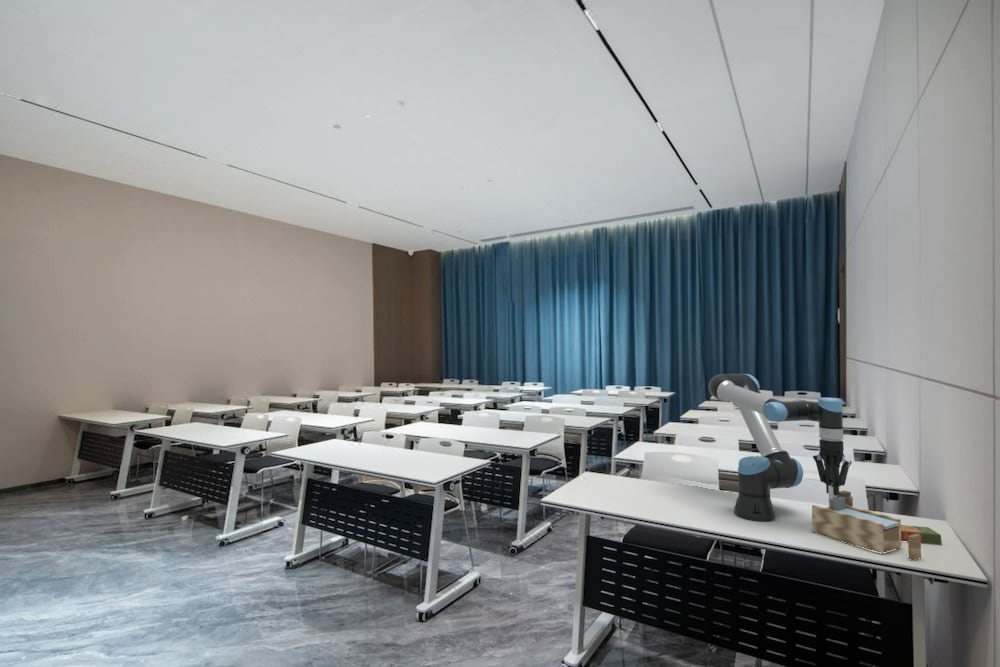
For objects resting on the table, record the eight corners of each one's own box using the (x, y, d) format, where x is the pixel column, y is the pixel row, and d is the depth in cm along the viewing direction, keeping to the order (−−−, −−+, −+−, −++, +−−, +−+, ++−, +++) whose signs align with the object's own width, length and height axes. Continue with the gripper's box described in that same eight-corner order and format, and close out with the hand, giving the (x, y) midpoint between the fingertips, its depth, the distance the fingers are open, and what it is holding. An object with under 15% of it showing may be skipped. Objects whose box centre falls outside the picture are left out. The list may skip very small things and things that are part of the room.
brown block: (842, 525, 195) (842, 489, 196) (853, 528, 192) (853, 492, 192) (835, 527, 193) (834, 491, 193) (846, 530, 189) (845, 494, 190)
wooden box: (812, 532, 187) (811, 505, 188) (831, 527, 193) (831, 501, 193) (907, 563, 160) (906, 531, 161) (926, 556, 166) (925, 525, 166)
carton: (877, 533, 187) (877, 522, 187) (928, 538, 183) (928, 526, 183) (888, 541, 179) (888, 529, 179) (942, 546, 175) (941, 534, 175)
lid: (821, 511, 186) (821, 497, 186) (835, 508, 190) (835, 494, 190) (885, 529, 167) (885, 514, 168) (899, 525, 171) (899, 510, 171)
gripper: (807, 437, 192) (809, 500, 191) (843, 442, 180) (845, 509, 179) (819, 436, 195) (821, 497, 194) (855, 441, 183) (857, 506, 182)
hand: (833, 503), depth 187 cm, fingers closed
